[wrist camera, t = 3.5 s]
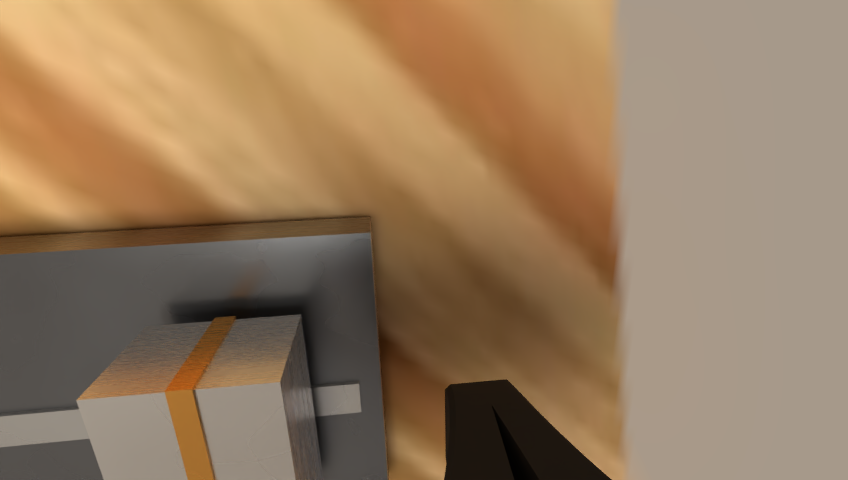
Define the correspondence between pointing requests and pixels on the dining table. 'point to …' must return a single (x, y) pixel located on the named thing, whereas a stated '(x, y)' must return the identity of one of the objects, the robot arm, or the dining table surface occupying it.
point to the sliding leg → (207, 404)
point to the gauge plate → (184, 303)
